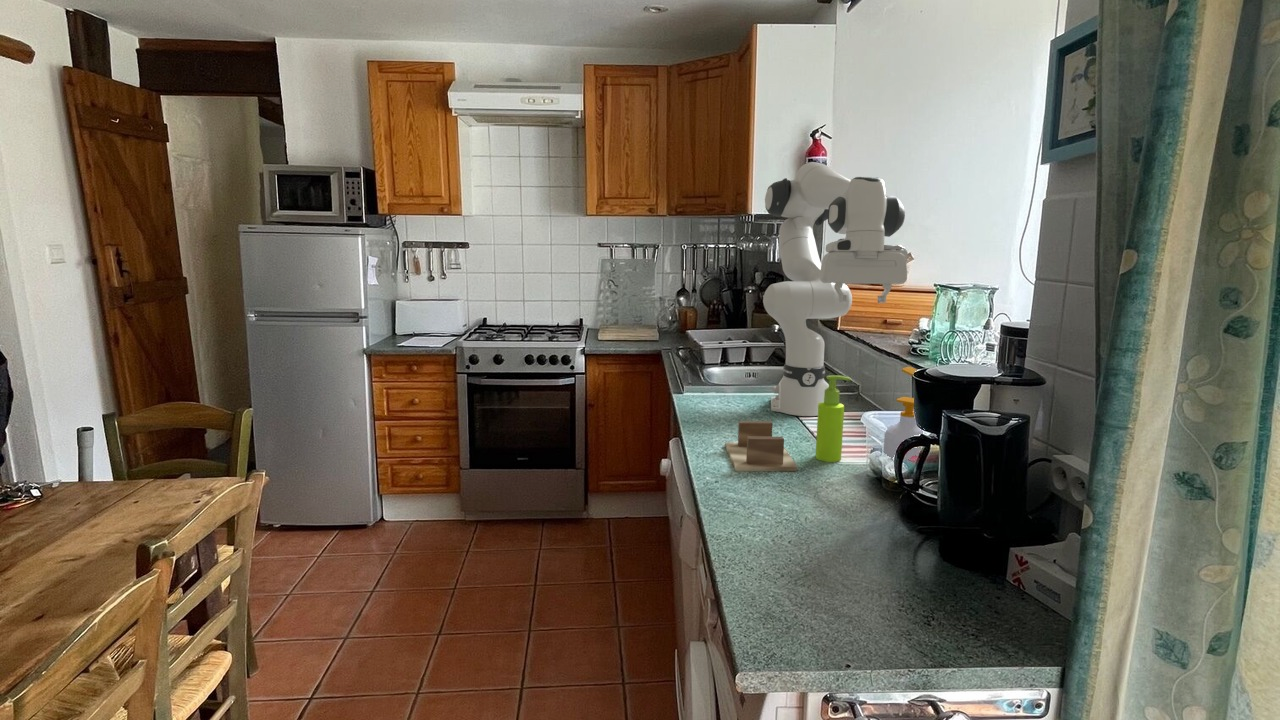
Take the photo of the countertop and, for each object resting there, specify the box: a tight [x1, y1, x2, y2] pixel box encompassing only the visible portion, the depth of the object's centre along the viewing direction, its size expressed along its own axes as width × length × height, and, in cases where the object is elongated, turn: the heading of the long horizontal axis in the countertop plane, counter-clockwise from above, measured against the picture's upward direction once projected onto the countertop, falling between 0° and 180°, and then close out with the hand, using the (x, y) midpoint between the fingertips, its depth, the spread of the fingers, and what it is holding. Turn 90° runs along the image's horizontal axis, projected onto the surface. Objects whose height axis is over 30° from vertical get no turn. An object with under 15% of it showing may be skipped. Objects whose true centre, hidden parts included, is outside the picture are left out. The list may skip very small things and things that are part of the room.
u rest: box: [724, 420, 799, 472], centre depth 160 cm, size 18×14×7 cm
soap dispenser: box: [815, 374, 852, 463], centre depth 159 cm, size 6×7×20 cm
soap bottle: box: [883, 366, 923, 462], centre depth 145 cm, size 9×9×25 cm
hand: (862, 302), depth 163 cm, fingers open, 8 cm apart
